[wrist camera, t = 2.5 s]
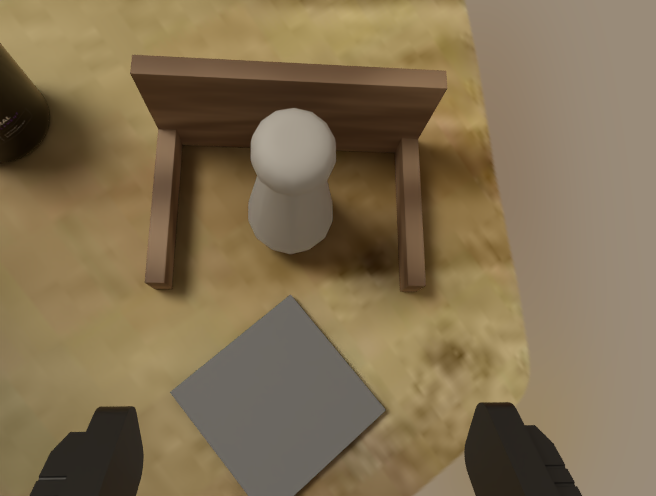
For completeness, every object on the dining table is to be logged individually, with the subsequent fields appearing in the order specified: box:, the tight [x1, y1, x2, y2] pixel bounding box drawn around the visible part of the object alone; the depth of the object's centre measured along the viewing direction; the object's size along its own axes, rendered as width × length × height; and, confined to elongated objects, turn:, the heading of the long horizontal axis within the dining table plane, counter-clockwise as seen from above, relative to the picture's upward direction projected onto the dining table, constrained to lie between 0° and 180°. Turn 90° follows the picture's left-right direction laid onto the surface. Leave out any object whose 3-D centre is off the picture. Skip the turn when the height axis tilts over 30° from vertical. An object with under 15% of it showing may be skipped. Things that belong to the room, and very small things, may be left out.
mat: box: [170, 295, 385, 496], centre depth 33 cm, size 10×10×1 cm
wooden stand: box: [130, 55, 447, 292], centre depth 32 cm, size 12×18×9 cm, turn 90°
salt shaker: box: [248, 108, 336, 254], centre depth 30 cm, size 6×6×13 cm
